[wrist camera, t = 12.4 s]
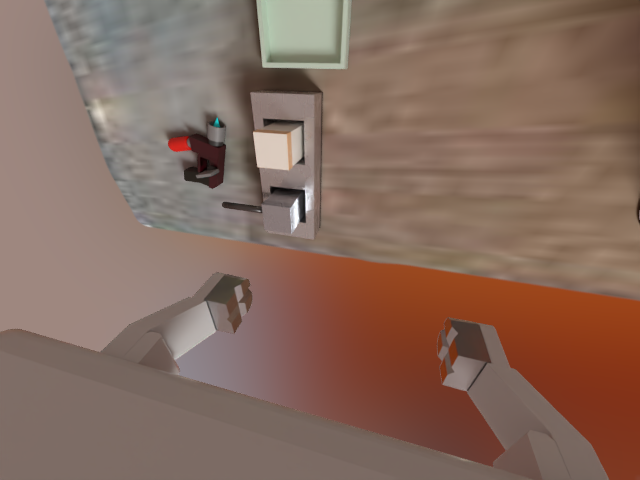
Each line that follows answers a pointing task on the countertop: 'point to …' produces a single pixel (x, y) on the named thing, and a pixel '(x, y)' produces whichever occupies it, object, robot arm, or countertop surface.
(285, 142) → the plug
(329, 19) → the tray
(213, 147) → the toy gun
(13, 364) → the robot arm
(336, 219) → the countertop surface
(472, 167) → the countertop surface
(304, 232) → the grey box with openings
